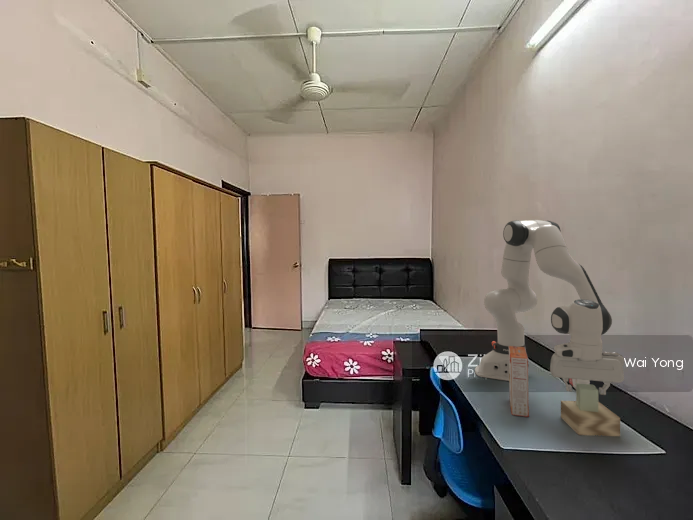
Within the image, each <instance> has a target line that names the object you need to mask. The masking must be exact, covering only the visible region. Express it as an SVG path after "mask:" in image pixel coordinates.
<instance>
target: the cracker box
mask: <svg viewBox="0 0 693 520" xmlns="http://www.w3.org/2000/svg"><path fill="white" fill-rule="evenodd" d="M525 347H526V346H525ZM525 347H516V346H509V381H508V382H509V383H508V387H509V392H508V393H509V406H510V412H511V415H512V416H518V417H525V418H528V417H530V409H529V408H530V407H529V405H530V403H529V401H530V400H529V398H530V397H529V376H528V375H529V357H528V353H527V350H525Z"/></svg>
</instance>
